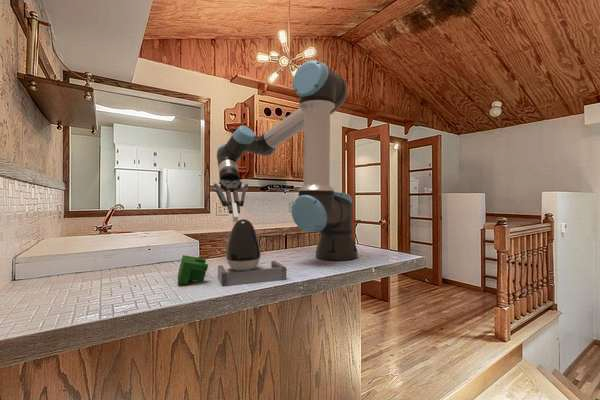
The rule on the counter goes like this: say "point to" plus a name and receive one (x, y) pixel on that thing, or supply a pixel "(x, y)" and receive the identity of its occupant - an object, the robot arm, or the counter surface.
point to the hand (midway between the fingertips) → (235, 219)
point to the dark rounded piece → (243, 247)
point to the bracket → (252, 275)
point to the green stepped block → (191, 269)
